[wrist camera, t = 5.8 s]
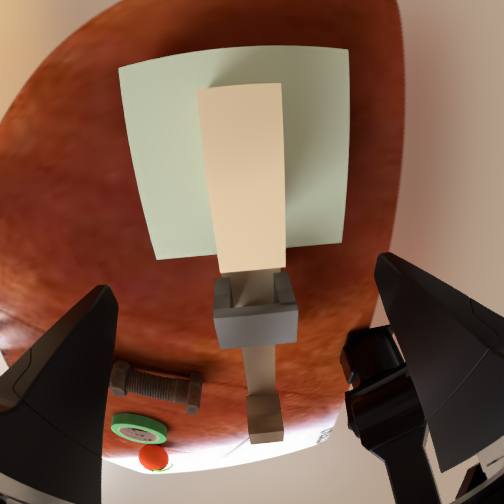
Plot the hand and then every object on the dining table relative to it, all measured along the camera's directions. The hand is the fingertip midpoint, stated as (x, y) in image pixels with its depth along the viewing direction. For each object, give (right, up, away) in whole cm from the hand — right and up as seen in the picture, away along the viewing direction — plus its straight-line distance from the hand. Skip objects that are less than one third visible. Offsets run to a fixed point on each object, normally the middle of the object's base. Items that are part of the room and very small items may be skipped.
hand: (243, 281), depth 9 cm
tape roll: (-22, -32, +36) cm, 53 cm away
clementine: (-22, -43, +43) cm, 65 cm away
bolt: (-14, -15, +25) cm, 32 cm away
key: (+1, -8, +15) cm, 18 cm away
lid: (0, +7, +7) cm, 10 cm away
